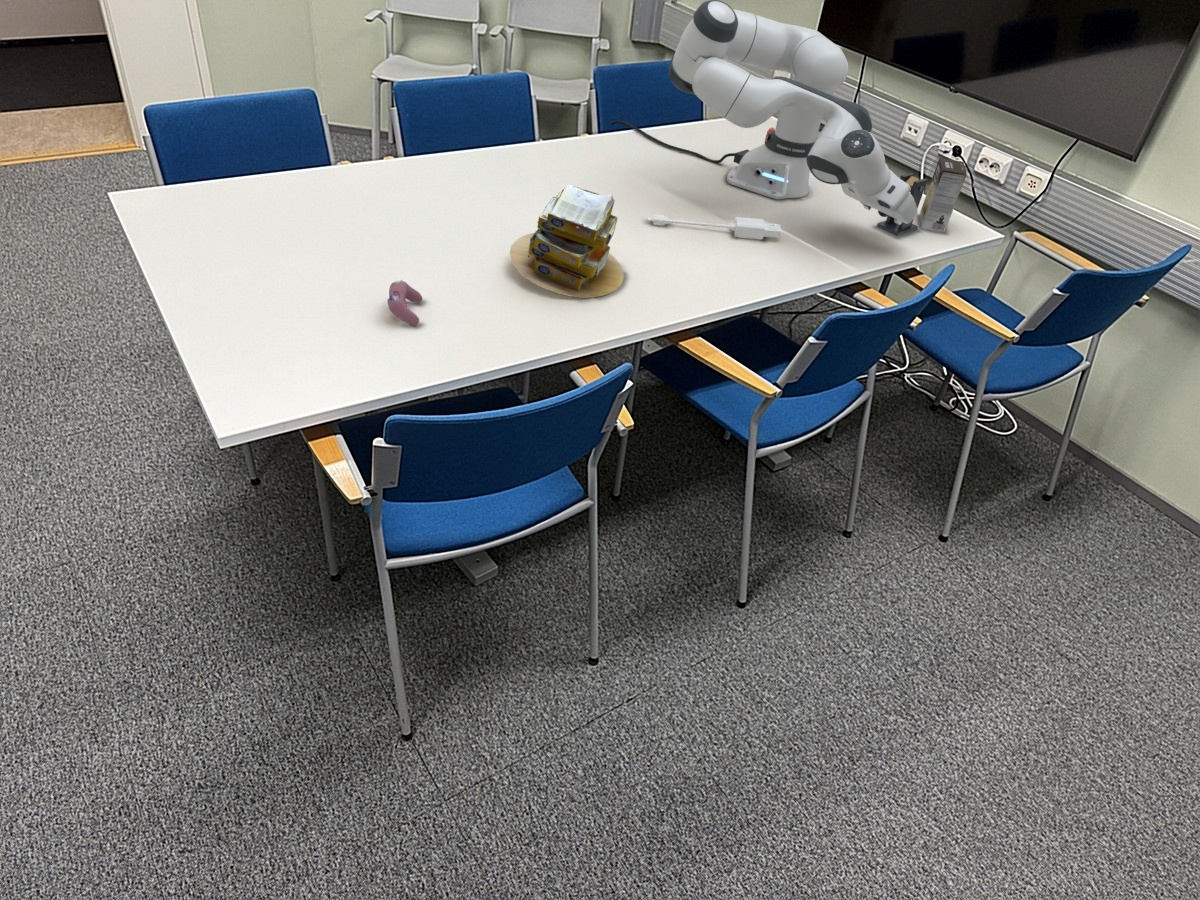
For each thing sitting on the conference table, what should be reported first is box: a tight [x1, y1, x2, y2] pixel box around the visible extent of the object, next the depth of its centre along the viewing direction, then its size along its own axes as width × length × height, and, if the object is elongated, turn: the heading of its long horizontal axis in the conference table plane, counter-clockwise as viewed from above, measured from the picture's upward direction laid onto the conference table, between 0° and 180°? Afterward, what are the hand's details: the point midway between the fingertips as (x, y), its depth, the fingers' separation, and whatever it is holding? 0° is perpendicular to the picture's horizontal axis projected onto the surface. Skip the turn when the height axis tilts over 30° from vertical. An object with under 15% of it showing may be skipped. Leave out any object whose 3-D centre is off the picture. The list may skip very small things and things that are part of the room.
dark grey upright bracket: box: [876, 172, 928, 237], centre depth 222 cm, size 9×6×14 cm
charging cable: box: [646, 214, 783, 241], centre depth 213 cm, size 5×32×3 cm, turn 86°
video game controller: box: [387, 279, 423, 326], centre depth 168 cm, size 10×5×7 cm, turn 5°
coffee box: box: [918, 157, 968, 233], centre depth 226 cm, size 9×6×16 cm
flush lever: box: [877, 176, 920, 218], centre depth 218 cm, size 13×3×3 cm
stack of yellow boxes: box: [509, 183, 625, 298], centre depth 184 cm, size 25×25×17 cm
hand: (884, 214), depth 219 cm, fingers open, 8 cm apart
